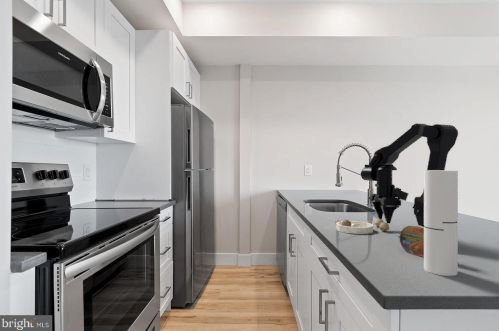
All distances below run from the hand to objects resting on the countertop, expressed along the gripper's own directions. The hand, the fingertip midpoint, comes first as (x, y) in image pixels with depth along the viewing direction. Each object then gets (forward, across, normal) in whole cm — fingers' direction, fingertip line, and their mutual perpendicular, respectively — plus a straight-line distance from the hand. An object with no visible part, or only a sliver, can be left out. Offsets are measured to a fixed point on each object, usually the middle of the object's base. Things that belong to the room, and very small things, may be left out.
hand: (384, 221), depth 121 cm
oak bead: (+2, 0, 0) cm, 2 cm away
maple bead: (+2, +9, -1) cm, 10 cm away
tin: (+4, -33, -1) cm, 33 cm away
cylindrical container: (+4, -45, +1) cm, 45 cm away
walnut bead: (+2, 0, +15) cm, 15 cm away
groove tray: (+4, +2, +11) cm, 12 cm away
